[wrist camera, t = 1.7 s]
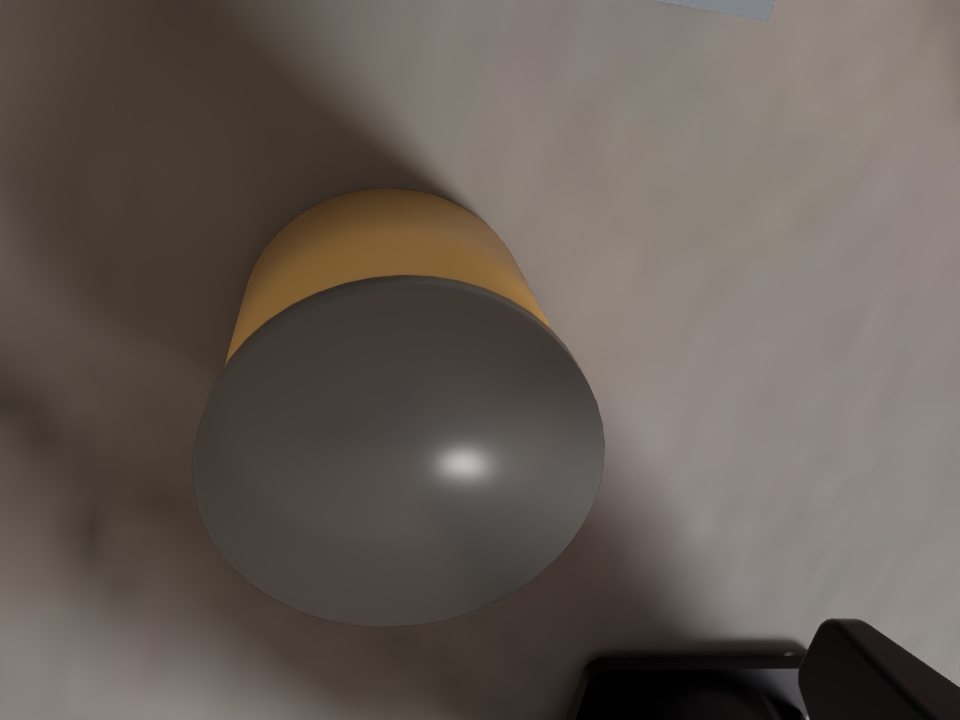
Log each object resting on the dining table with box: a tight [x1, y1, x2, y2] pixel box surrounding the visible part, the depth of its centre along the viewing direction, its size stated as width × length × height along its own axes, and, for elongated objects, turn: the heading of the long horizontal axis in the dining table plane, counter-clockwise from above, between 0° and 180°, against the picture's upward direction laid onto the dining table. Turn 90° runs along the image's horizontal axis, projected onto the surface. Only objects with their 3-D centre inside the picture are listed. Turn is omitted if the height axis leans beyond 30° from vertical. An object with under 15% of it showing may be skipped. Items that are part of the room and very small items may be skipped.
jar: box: [192, 188, 605, 627], centre depth 12 cm, size 5×5×5 cm
